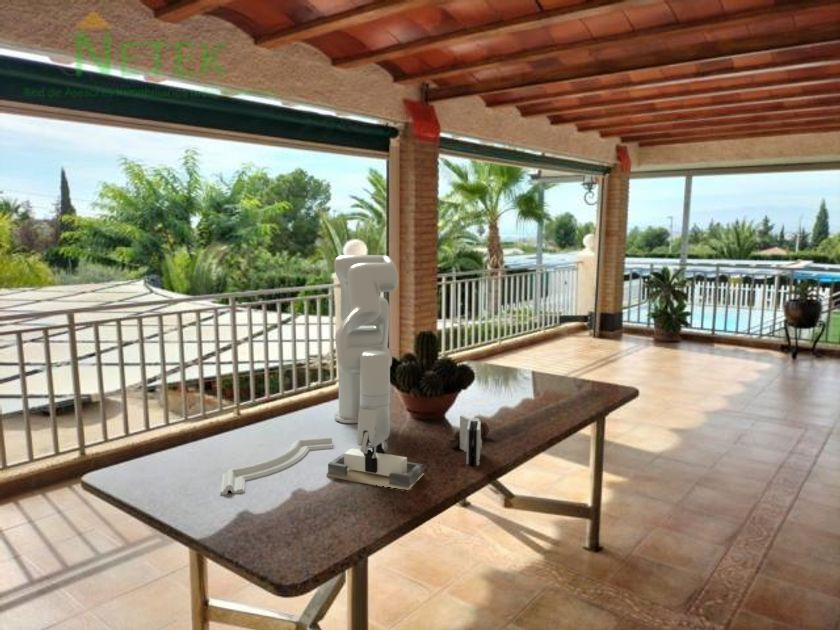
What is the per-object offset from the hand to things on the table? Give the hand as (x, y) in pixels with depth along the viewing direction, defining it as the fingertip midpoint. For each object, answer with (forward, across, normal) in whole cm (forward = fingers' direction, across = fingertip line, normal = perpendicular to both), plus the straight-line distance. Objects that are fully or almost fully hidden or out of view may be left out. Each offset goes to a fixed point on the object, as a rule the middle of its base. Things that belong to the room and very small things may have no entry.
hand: (375, 467), depth 153 cm
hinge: (+2, -23, +18) cm, 29 cm away
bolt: (+3, -34, +14) cm, 37 cm away
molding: (+3, +4, -26) cm, 27 cm away
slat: (+1, 0, 0) cm, 1 cm away
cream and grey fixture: (+2, 0, 0) cm, 2 cm away
